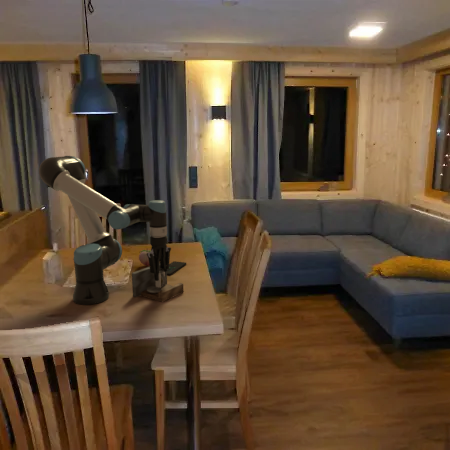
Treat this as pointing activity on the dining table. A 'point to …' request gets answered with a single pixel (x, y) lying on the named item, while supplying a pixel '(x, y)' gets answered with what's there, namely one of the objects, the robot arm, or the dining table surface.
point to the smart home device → (175, 267)
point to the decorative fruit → (144, 257)
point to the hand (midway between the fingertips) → (160, 285)
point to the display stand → (147, 279)
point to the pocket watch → (156, 289)
